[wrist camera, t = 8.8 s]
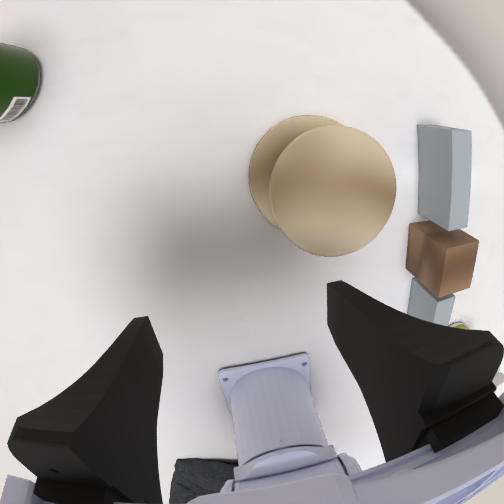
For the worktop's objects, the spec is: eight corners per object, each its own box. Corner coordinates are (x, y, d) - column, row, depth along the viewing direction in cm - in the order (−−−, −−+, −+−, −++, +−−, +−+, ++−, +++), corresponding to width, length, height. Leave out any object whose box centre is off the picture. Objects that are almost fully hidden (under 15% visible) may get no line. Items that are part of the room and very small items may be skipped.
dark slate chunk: (290, 454, 35) (297, 483, 31) (252, 506, 43) (255, 527, 39) (172, 451, 32) (172, 483, 28) (167, 503, 40) (167, 525, 36)
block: (435, 260, 25) (469, 287, 20) (405, 267, 25) (438, 298, 20) (440, 218, 23) (478, 240, 19) (408, 223, 23) (446, 248, 18)
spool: (364, 222, 22) (401, 250, 17) (257, 241, 22) (271, 277, 17) (358, 112, 19) (400, 114, 14) (240, 123, 18) (251, 124, 14)
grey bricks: (418, 333, 28) (438, 357, 24) (402, 338, 28) (422, 364, 24) (436, 125, 20) (471, 131, 16) (417, 125, 20) (451, 130, 16)
